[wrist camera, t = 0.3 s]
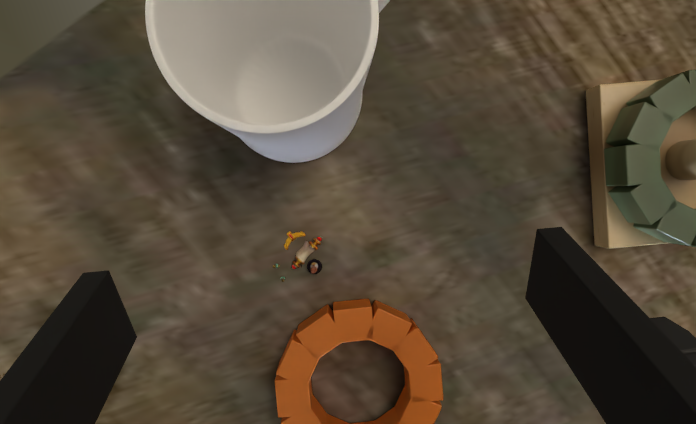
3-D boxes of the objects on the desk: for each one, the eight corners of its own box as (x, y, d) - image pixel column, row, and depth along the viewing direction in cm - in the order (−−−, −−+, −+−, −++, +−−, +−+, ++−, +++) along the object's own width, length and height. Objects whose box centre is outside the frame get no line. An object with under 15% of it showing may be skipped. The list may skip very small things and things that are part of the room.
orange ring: (440, 443, 28) (448, 462, 26) (287, 459, 28) (284, 480, 26) (428, 292, 28) (435, 300, 26) (272, 307, 27) (268, 316, 25)
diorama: (333, 241, 28) (334, 245, 26) (311, 294, 28) (310, 302, 26) (290, 223, 28) (287, 226, 25) (268, 277, 28) (263, 284, 26)
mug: (357, -33, 27) (378, -215, 15) (431, 86, 27) (510, 3, 15) (196, 72, 27) (85, -25, 15) (273, 189, 27) (228, 187, 15)
